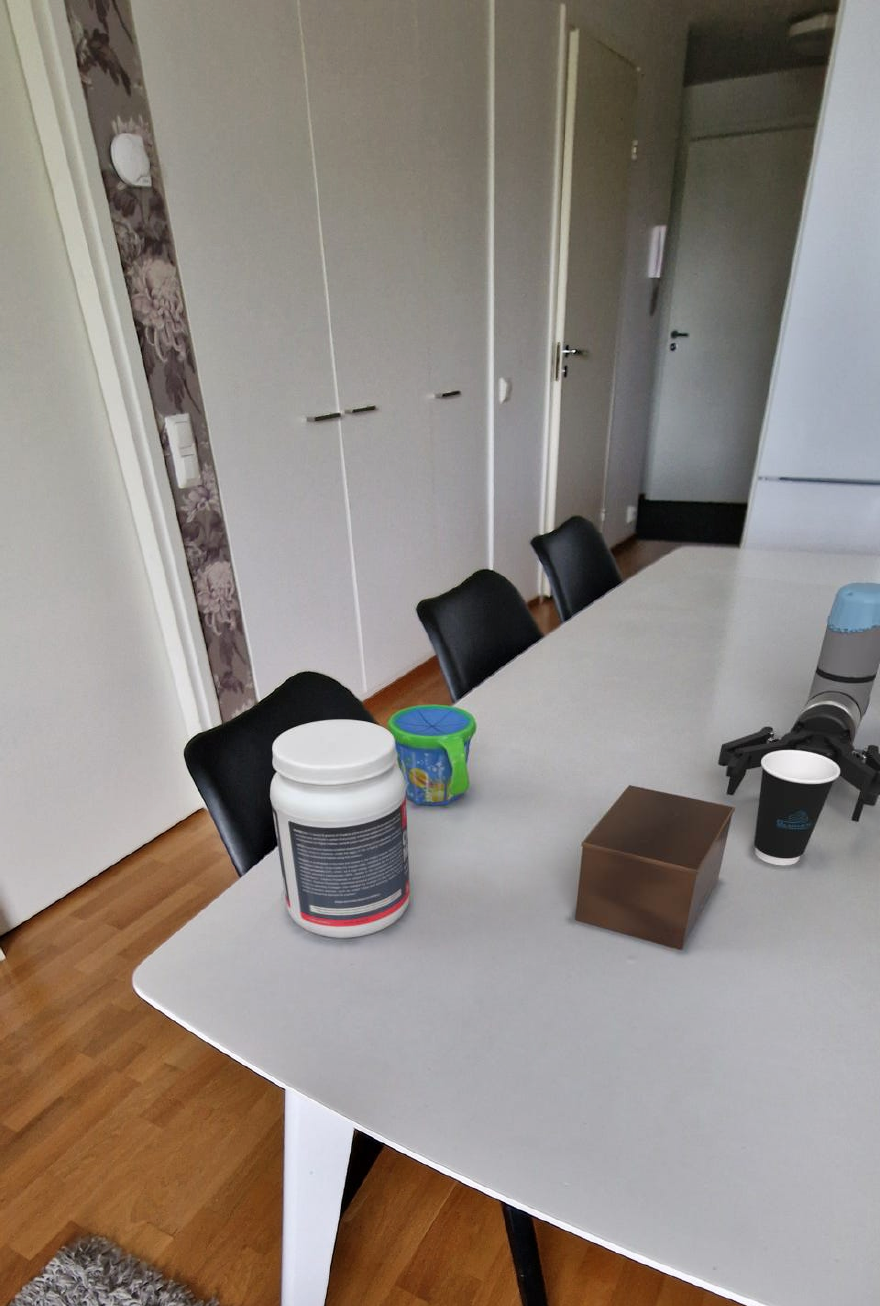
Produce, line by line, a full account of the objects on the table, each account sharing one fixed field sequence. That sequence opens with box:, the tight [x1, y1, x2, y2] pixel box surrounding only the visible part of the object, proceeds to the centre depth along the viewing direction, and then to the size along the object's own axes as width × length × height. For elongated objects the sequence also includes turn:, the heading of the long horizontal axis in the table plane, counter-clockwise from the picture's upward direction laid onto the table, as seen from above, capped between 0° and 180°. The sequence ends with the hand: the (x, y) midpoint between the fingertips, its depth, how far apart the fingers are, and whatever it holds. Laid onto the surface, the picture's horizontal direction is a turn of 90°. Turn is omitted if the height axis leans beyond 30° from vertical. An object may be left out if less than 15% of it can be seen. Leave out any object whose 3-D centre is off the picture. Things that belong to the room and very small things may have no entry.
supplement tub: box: [269, 719, 411, 939], centre depth 82 cm, size 13×13×18 cm
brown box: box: [574, 784, 736, 951], centre depth 86 cm, size 11×14×9 cm
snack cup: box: [387, 704, 477, 807], centre depth 106 cm, size 16×10×10 cm
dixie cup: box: [753, 750, 840, 866], centre depth 93 cm, size 8×8×11 cm
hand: (793, 797), depth 94 cm, fingers open, 13 cm apart
